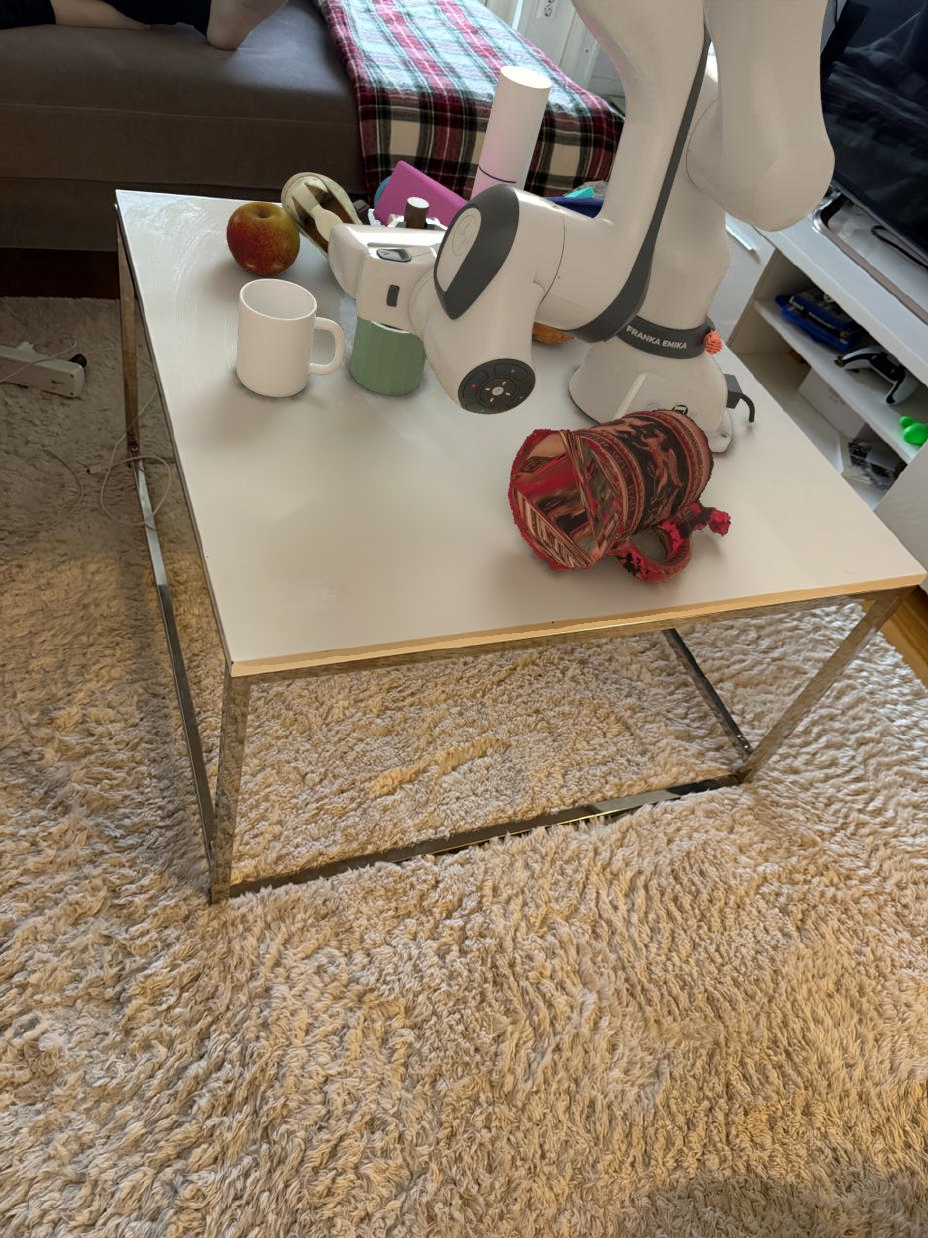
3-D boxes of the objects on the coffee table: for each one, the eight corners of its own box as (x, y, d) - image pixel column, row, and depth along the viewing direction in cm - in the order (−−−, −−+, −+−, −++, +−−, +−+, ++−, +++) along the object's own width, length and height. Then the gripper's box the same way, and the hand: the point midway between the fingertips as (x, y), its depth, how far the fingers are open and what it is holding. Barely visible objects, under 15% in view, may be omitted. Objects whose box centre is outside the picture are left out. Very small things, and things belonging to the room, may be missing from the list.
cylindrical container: (453, 240, 138) (493, 62, 120) (495, 243, 140) (541, 69, 122) (466, 264, 134) (510, 83, 115) (510, 267, 136) (559, 91, 118)
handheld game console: (593, 185, 129) (597, 194, 130) (571, 191, 144) (575, 200, 144) (532, 222, 131) (537, 231, 131) (517, 225, 145) (521, 233, 146)
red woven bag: (510, 412, 86) (673, 490, 79) (652, 333, 103) (797, 391, 96) (490, 548, 97) (631, 628, 90) (622, 456, 115) (749, 516, 107)
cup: (242, 350, 106) (246, 271, 99) (342, 371, 108) (353, 295, 101) (229, 390, 101) (233, 309, 93) (335, 411, 103) (346, 334, 95)
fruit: (212, 267, 116) (214, 207, 111) (243, 241, 123) (246, 183, 117) (280, 293, 116) (285, 234, 110) (308, 265, 122) (314, 208, 116)
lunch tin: (423, 362, 113) (436, 301, 107) (417, 401, 108) (431, 340, 101) (355, 346, 112) (364, 284, 106) (345, 385, 106) (355, 322, 100)
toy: (445, 286, 114) (521, 325, 124) (482, 220, 110) (557, 266, 121) (352, 204, 129) (426, 245, 140) (381, 144, 126) (455, 191, 137)
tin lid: (449, 264, 102) (465, 194, 96) (444, 306, 95) (460, 233, 90) (367, 244, 101) (377, 172, 95) (356, 285, 94) (366, 210, 88)
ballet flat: (317, 165, 124) (285, 125, 117) (412, 257, 113) (382, 220, 106) (276, 209, 125) (242, 173, 118) (366, 305, 114) (334, 271, 108)
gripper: (552, 268, 88) (507, 200, 96) (350, 255, 81) (321, 183, 89) (534, 324, 92) (493, 256, 101) (342, 317, 85) (314, 244, 93)
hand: (411, 222), depth 95 cm, fingers closed on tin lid, 2 cm apart
